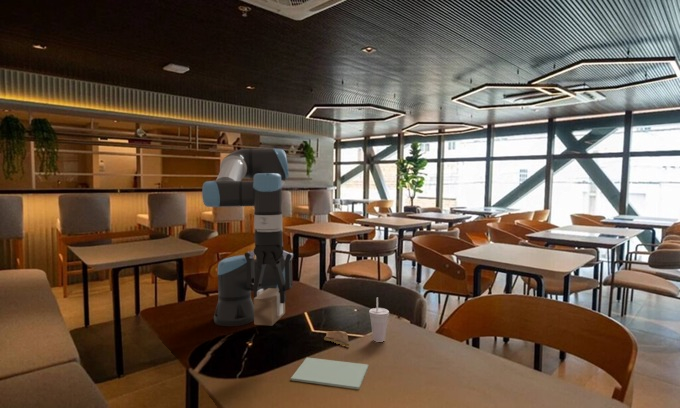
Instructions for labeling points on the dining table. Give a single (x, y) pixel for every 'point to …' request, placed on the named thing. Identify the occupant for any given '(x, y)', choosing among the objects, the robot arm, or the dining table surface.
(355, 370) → the felt mat
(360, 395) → the dining table surface
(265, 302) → the beige block
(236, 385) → the dining table surface
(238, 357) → the dining table surface
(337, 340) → the shard
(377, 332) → the smoothie
